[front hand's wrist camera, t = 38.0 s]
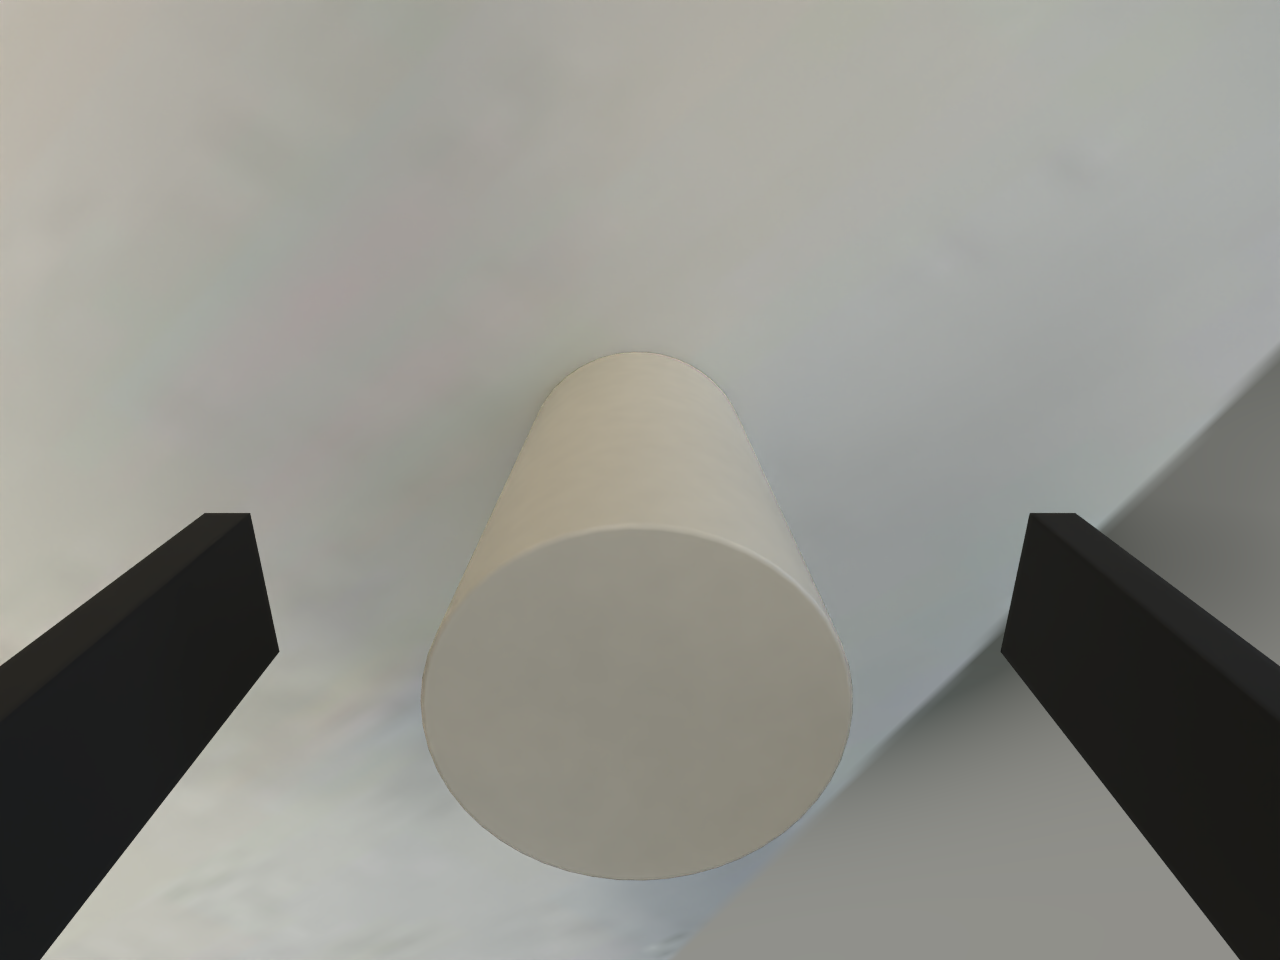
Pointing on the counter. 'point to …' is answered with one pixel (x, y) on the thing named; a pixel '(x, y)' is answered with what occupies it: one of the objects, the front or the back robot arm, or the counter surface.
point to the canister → (636, 640)
